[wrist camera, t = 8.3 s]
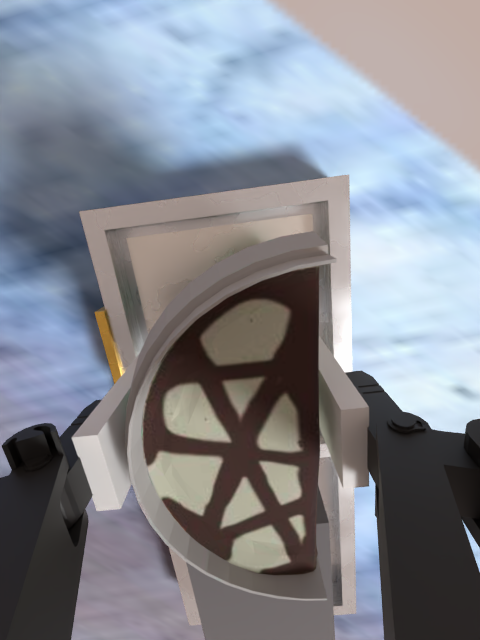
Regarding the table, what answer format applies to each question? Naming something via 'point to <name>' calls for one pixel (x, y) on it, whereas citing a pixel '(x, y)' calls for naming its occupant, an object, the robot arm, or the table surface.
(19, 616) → the robot arm
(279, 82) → the table surface
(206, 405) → the food container
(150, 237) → the rack
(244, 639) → the grey rectangular box
